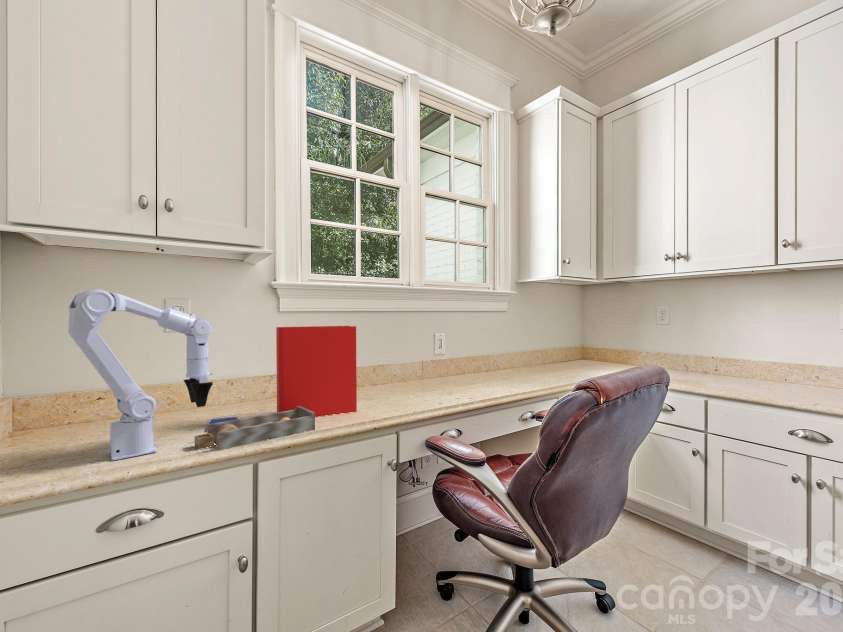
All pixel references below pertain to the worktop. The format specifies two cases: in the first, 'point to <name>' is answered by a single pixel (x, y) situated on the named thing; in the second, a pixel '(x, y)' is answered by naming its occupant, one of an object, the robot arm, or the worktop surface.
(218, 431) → the lane
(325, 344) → the book
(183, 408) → the worktop surface
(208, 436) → the brown wooden crate
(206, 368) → the robot arm
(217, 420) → the hard drive
